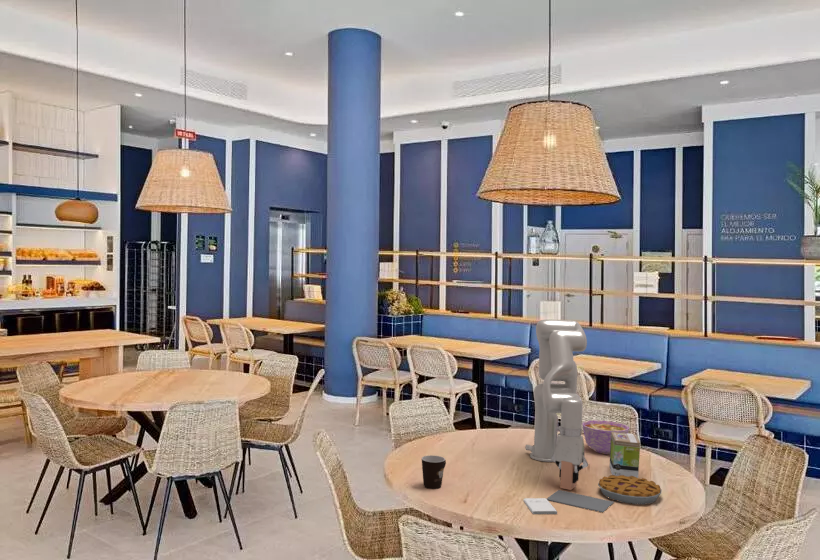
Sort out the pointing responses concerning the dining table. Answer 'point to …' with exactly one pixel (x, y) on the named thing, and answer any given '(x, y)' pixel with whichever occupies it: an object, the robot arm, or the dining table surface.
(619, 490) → the pie
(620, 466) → the tea box
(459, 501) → the dining table surface
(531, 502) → the external hard drive
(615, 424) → the bowl of food
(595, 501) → the mat
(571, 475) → the block
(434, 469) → the coffee mug
